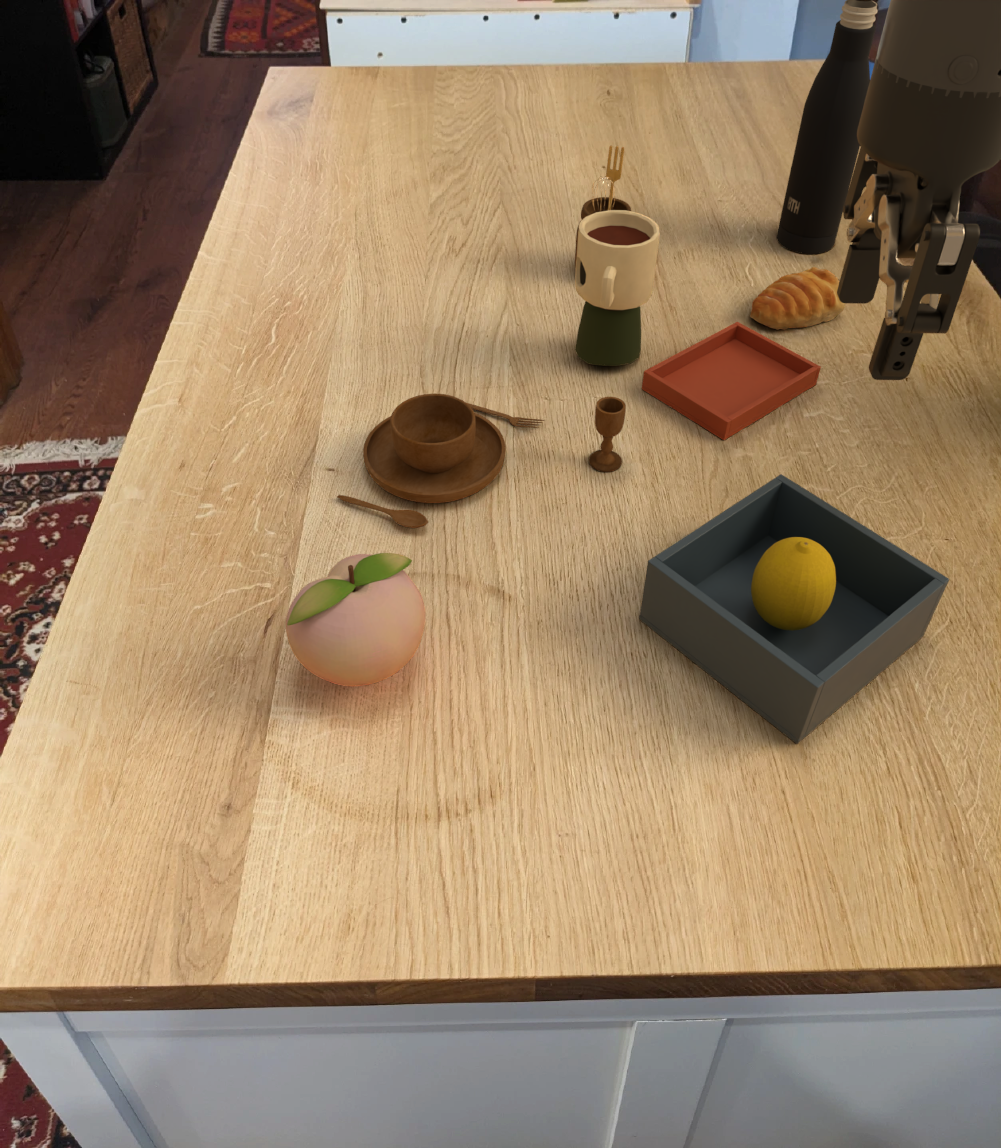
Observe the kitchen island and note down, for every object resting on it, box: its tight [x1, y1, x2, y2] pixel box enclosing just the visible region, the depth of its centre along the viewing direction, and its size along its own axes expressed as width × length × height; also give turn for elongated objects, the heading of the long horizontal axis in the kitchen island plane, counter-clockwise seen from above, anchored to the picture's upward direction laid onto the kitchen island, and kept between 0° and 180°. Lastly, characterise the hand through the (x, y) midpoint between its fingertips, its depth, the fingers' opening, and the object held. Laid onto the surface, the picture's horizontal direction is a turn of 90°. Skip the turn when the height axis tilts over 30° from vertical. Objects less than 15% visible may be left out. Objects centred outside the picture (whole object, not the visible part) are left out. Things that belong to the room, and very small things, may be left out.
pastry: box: [749, 266, 846, 331], centre depth 102 cm, size 9×7×4 cm
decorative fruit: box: [285, 552, 426, 687], centre depth 67 cm, size 9×8×10 cm
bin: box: [638, 473, 950, 745], centre depth 71 cm, size 14×14×6 cm
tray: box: [641, 321, 822, 441], centre depth 94 cm, size 13×10×2 cm
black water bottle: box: [776, 0, 878, 255], centre depth 103 cm, size 6×6×30 cm
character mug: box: [574, 210, 660, 367], centre depth 93 cm, size 11×7×13 cm, turn 166°
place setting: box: [336, 393, 627, 529], centre depth 83 cm, size 18×20×6 cm
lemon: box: [751, 537, 836, 630], centre depth 70 cm, size 6×6×8 cm
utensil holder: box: [574, 145, 632, 269], centre depth 105 cm, size 6×6×12 cm
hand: (869, 336), depth 63 cm, fingers open, 8 cm apart
